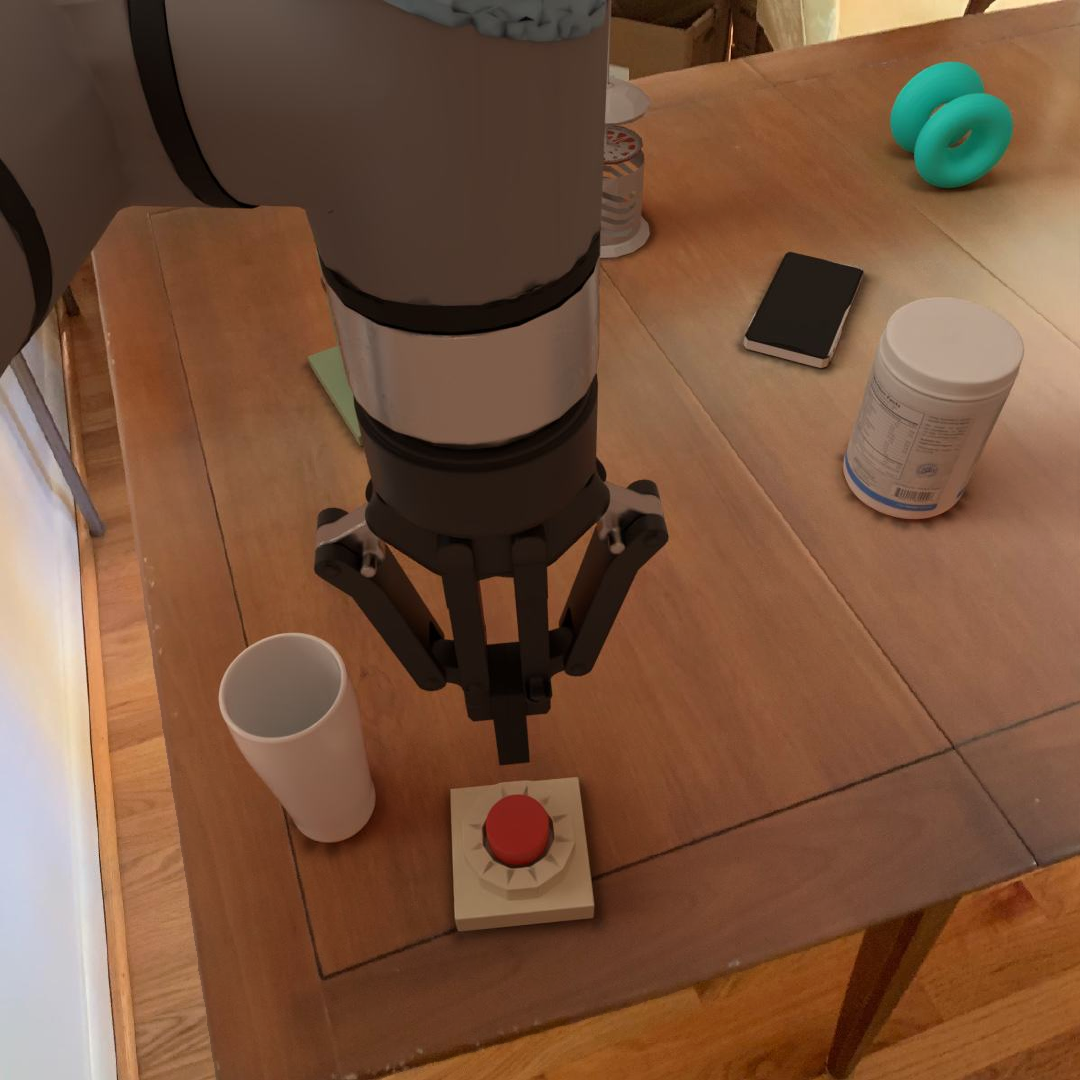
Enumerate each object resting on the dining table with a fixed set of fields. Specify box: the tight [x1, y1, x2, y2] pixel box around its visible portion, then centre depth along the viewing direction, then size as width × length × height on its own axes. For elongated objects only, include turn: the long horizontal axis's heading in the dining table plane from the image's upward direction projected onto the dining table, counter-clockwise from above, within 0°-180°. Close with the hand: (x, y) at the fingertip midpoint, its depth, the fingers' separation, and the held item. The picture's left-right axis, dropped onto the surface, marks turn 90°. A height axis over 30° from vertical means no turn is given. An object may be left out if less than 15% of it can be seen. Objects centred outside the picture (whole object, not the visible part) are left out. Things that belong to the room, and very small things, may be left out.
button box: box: [449, 776, 595, 932], centre depth 58 cm, size 8×8×4 cm
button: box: [486, 794, 549, 865], centre depth 56 cm, size 4×4×2 cm
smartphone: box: [742, 251, 865, 369], centre depth 92 cm, size 8×1×15 cm
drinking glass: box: [218, 632, 377, 844], centre depth 56 cm, size 7×7×15 cm
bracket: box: [307, 249, 364, 447], centre depth 82 cm, size 12×9×14 cm
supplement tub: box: [842, 296, 1025, 520], centre depth 73 cm, size 10×10×15 cm
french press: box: [600, 0, 651, 259], centre depth 92 cm, size 10×12×25 cm
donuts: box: [889, 61, 1014, 189], centre depth 104 cm, size 10×10×10 cm
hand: (512, 738), depth 48 cm, fingers closed
